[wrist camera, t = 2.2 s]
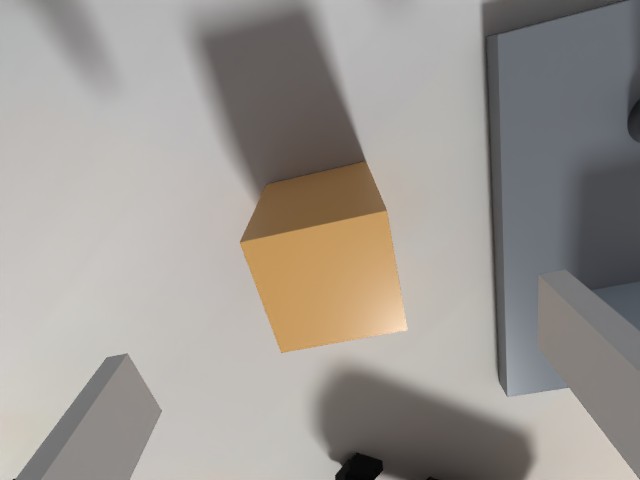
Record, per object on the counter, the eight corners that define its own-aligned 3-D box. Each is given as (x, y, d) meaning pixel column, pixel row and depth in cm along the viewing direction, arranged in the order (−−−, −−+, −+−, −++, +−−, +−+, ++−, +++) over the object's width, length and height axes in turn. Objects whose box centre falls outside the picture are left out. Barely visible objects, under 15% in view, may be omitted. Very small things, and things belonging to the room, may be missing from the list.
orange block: (266, 184, 20) (239, 242, 13) (365, 161, 19) (386, 210, 13) (293, 269, 22) (281, 353, 16) (382, 250, 21) (407, 330, 15)
